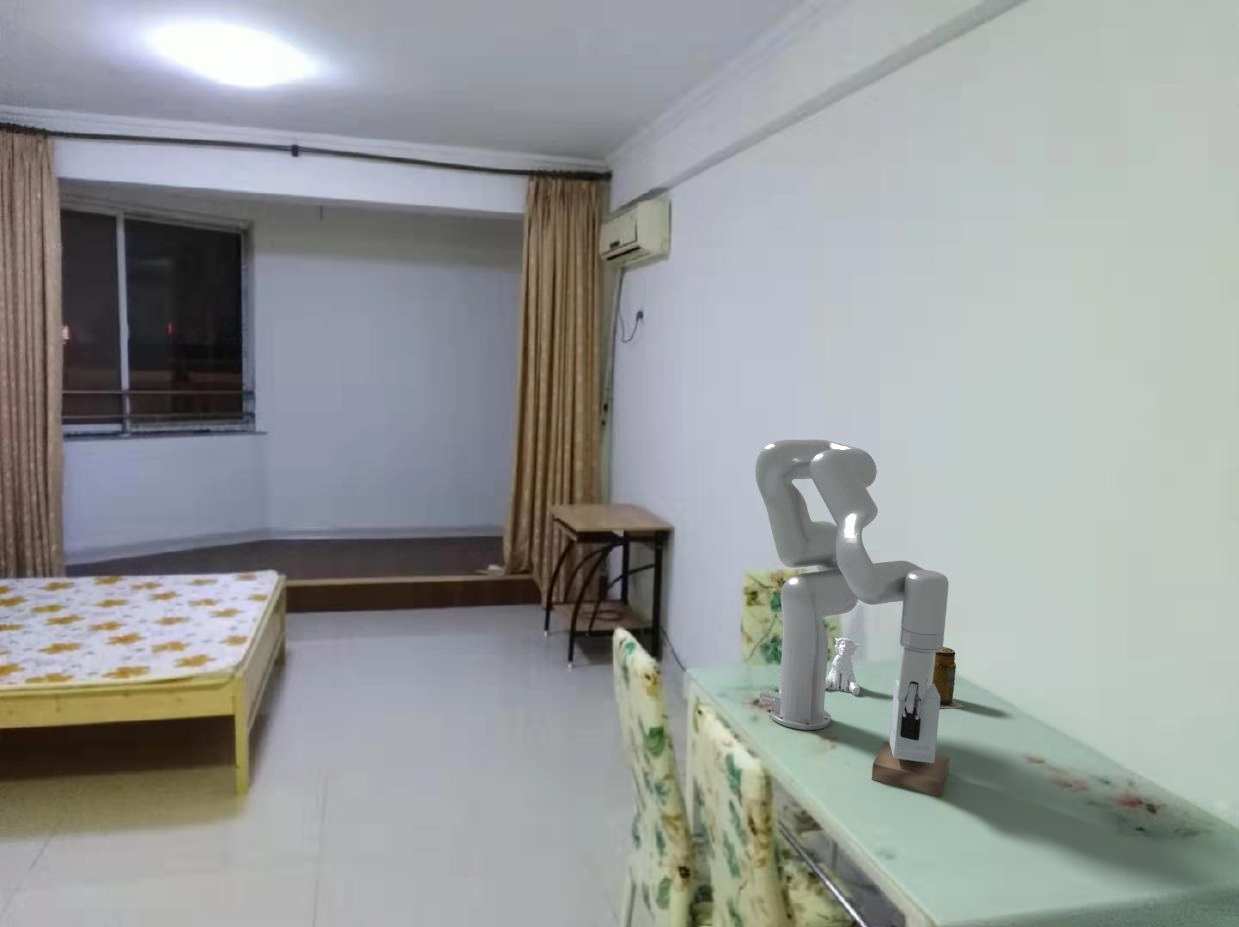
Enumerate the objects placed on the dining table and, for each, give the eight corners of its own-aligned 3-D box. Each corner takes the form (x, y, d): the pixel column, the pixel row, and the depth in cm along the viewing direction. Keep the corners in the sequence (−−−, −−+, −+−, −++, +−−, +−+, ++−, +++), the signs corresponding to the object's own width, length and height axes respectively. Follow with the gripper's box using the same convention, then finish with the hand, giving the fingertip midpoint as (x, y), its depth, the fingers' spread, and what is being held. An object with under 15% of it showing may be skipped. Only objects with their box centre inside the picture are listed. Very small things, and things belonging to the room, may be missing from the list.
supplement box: (935, 764, 159) (941, 697, 157) (892, 758, 160) (898, 692, 159) (929, 747, 166) (935, 682, 165) (888, 741, 167) (894, 678, 166)
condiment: (943, 693, 207) (948, 644, 205) (965, 707, 198) (970, 656, 197) (915, 695, 205) (920, 645, 204) (936, 709, 197) (940, 657, 195)
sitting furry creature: (817, 689, 206) (820, 640, 204) (822, 678, 214) (825, 630, 212) (858, 696, 202) (862, 646, 201) (862, 684, 210) (866, 635, 209)
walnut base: (871, 779, 161) (872, 763, 161) (882, 756, 171) (884, 741, 171) (940, 796, 156) (941, 780, 156) (948, 771, 166) (949, 756, 165)
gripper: (908, 623, 170) (900, 709, 172) (892, 647, 155) (883, 741, 157) (949, 630, 167) (940, 717, 169) (936, 655, 151) (928, 751, 153)
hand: (913, 729), depth 163 cm, fingers closed on supplement box, 8 cm apart
